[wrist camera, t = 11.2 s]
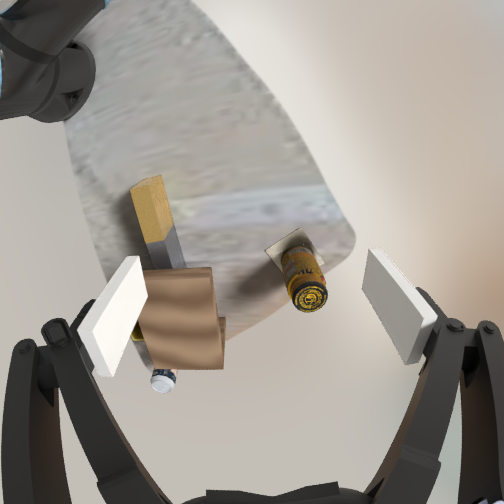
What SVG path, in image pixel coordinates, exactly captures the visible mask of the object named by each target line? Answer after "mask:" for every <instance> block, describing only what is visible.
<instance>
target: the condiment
mask: <svg viewBox="0 0 504 504" xmlns="http://www.w3.org/2000/svg"><path fill="white" fill-rule="evenodd" d="M303 244H304V245H303ZM265 251H266V252H267V254H268V255H269V256H270V257H271V259H272V260H273V261H274V263H275V264H276V265H277V266H278V267H279V269H280V270H281V271H282V273H283V276H284V279H285V283H286V287H287V291H288V294H289V296H290V298H291V299H292V302H293V304H294V306H295V307H296V308H297V309H298V310H300V311H303V312H314V311H316V310H318V309H320V308H322V306H323V305H324V304H325V302H326V300H327V298H328V297H327V296H328V293H327V289H326V282H325V278H324V276H323V274H322V272H321V270H320V267H319V266H321V265H322V264H324V261H323V260H322V258H321V256H320V255H319V253H318V252H317V250H316V249H315V247H314V246H313V245H312V243H311V242H310V240H309V239H308V237H307V236H306V234H305V233H304V231H303V230H302V228H299V229H298V230H296V231H294V232H293V233H291V234H290V235H288V236H286V237H285V238H283V239H282V240H280V241H279V242H277V243H276V244H274V245H272V246H271V247H270V248H268V249H267V250H265ZM281 251H282V252H281ZM281 253H282V255H281Z"/></svg>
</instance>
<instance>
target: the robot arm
mask: <svg viewBox="0 0 504 504" xmlns="http://www.w3.org/2000/svg"><path fill="white" fill-rule="evenodd" d="M111 1H112V0H0V120H3V119H8V118H14V117H20V116H26V115H27V116H29V117H31V118H33V119H36V120H38V121H41V122H45V123H52V122H58V121H63V120H65V119H67V118H69V117H71V116H72V115H74V114H75V113H76V112H77V111H78V110H79V109H80V108H81V107H82V106H83V104H84V103H85V102H86V100H87V98H88V97H89V95H90V92H91V90H92V87H93V84H94V80H95V72H96V67H95V60H94V57H93V55H92V53H91V51H90V50H89V48H88V47H87V46H85V45H84V44H82V43H80V42H77V41H74V40H72V39H73V38H74V37H75V36H76V35H77V34H78V33H79V32H80V31H81V30H82V29H83V28H84V27H85V26H86V25H87V24H88V23H89V22H90V21H91V20H92V19H93V18H94V17H95V16H96V15H97V14H98V13H99V12H100V11H101V10H102V9H105V8H106V7H107V6H108V4H109V3H110V2H111ZM362 290H363V292H364V293H365V295H366V297H367V298H368V300H369V302H370V303H371V305H372V307H373V309H374V310H375V312H376V314H377V315H378V317H379V319H380V321H381V322H382V324H383V326H384V327H385V329H386V331H387V333H388V335H389V336H390V338H391V340H392V342H393V344H394V346H395V347H396V349H397V351H398V353H399V355H400V357H401V358H402V360H403V362H404V364H405V365H409V364H414V363H418V362H419V360H420V358H421V355H422V354H424V356H425V357H426V361H425V363H424V364H423V367H422V369H421V371H420V373H419V375H420V377H419V379H418V382H417V385H416V388H415V391H414V393H413V396H412V398H411V401H410V404H409V406H408V409H407V411H406V414H405V416H404V418H403V421H402V423H401V425H400V427H399V430H398V432H397V434H396V436H395V438H394V440H393V442H392V444H391V447H390V448H389V450H388V453H387V455H386V456H385V458H384V460H383V463H382V464H381V466H380V468H379V470H378V471H377V473H376V475H375V477H374V478H373V480H372V482H371V483H370V484H369V485H368V487H367V488H366V490H365V491H364V493H362V492H359V491H356V490H353V489H347V488H339V486H338V482H331V483H325V484H319V485H312V486H306V487H303V488H300V489H297V490H294V491H291V492H288V493H284V494H281V495H278V496H265V495H259V494H254V493H248V492H243V491H229V490H228V491H227V490H226V491H225V490H206V496H202V497H198V498H194V499H191V500H189V501H186V502H184V503H182V504H426V503H427V500H428V498H429V496H430V494H431V491H432V489H433V486H434V484H435V481H436V479H437V476H438V474H439V471H440V467H441V462H439V461H438V458H439V454H440V451H441V449H442V445H443V442H444V439H445V435H446V432H447V429H448V425H449V422H450V418H451V414H452V410H453V406H454V402H455V398H456V393H457V388H458V383H459V380H460V392H461V410H462V454H461V472H460V483H459V493H458V504H504V341H503V338H502V335H501V332H500V330H499V328H498V327H497V326H496V325H495V324H494V323H492V322H490V321H481V322H480V323H479V324H478V327H477V329H467V328H466V327H465V325H464V324H463V323H462V322H461V321H459V320H457V319H453V318H447V316H446V315H445V314H444V313H443V312H442V310H441V309H440V308H439V307H438V305H437V304H435V302H434V301H433V299H431V297H430V296H429V295H428V293H427V292H425V291H424V290H422V289H421V288H419V287H416V288H415V287H414V286H413V285H412V284H411V283H410V281H409V280H408V279H407V278H406V277H405V275H404V274H403V273H402V272H401V271H400V270H399V269H398V268H397V266H396V265H395V264H394V263H393V262H392V261H391V260H390V258H389V257H388V256H387V255H386V254H385V253H384V252H383V251H382V250H381V248H369V250H368V256H367V262H366V268H365V274H364V280H363V285H362ZM147 297H148V294H147V290H146V286H145V281H144V277H143V272H142V268H141V263H140V258H139V256H127V257H126V258H125V260H124V261H123V262H122V264H121V265H120V267H119V268H118V269H117V271H116V272H115V274H114V275H113V276H112V278H111V279H110V281H109V282H108V284H107V285H106V287H105V288H104V290H103V291H102V292H101V294H100V295H99V297H98V298H97V299H92V300H90V301H89V302H88V303H86V304H85V305H84V307H83V308H82V309H81V311H80V313H79V314H78V315H77V318H75V320H74V321H73V323H72V324H71V326H70V327H69V326H68V324H67V322H66V320H65V319H62V318H56V319H52V320H50V321H48V322H47V323H46V324H45V325H43V327H42V329H41V333H42V336H43V338H44V340H45V341H46V343H47V346H39V347H37V345H36V343H35V342H34V340H32V339H24V340H21V341H20V342H18V343H17V344H16V345H15V347H14V349H13V353H12V357H11V363H10V368H9V374H8V380H7V386H6V394H5V402H4V411H3V423H2V443H1V444H2V445H1V469H2V488H3V500H4V504H72V502H71V498H70V493H69V488H68V483H67V477H66V471H65V465H64V458H63V450H62V441H61V432H60V417H59V395H58V394H59V392H58V388H60V390H61V393H62V396H63V399H64V402H65V405H66V408H67V410H68V413H69V416H70V419H71V421H72V424H73V426H74V429H75V431H76V434H77V436H78V439H79V441H80V443H81V445H82V448H83V450H84V452H85V454H86V456H87V458H88V461H89V463H90V465H91V467H92V469H93V471H94V473H95V474H96V476H97V479H98V482H97V487H98V489H99V491H100V493H101V495H102V497H103V499H104V500H105V502H106V504H173V503H172V502H171V501H170V500H169V499H168V498H167V496H166V495H165V494H164V493H163V492H162V490H161V489H160V488H159V487H158V485H157V484H156V483H155V481H154V480H153V478H152V477H151V476H150V474H149V473H148V471H147V470H146V468H145V467H144V466H143V464H142V463H141V462H140V460H139V458H138V457H137V455H136V453H135V452H134V450H133V449H132V447H131V446H130V444H129V443H128V441H127V439H126V438H125V436H124V434H123V432H122V431H121V429H120V427H119V425H118V424H117V422H116V420H115V418H114V417H113V415H112V413H111V411H110V409H109V408H108V406H107V403H106V402H105V400H104V398H103V396H102V394H101V392H100V390H99V388H98V386H97V383H96V381H95V379H94V377H93V375H92V371H93V369H94V367H95V369H96V371H97V373H98V375H99V376H105V377H113V376H114V374H115V371H116V369H117V366H118V364H119V361H120V359H121V356H122V354H123V352H124V349H125V347H126V344H127V342H128V340H129V338H130V335H131V333H132V331H133V328H134V326H135V324H136V322H137V319H138V317H139V315H140V313H141V310H142V308H143V306H144V304H145V302H146V299H147Z"/></svg>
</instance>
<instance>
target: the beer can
mask: <svg viewBox="0 0 504 504" xmlns="http://www.w3.org/2000/svg"><path fill="white" fill-rule="evenodd" d="M177 371H178V369H155V367H154V370H153V374H152V378H151V384H152V387H153V388H154V390H156V391H158V392H161V393H168V392H170V391H171V390H172V389H173V388H174V386H175V381H176V376H177Z"/></svg>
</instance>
